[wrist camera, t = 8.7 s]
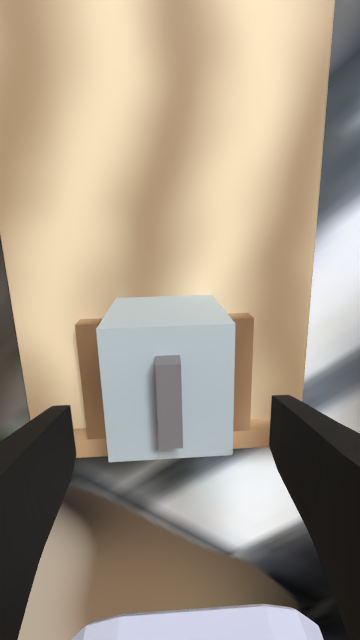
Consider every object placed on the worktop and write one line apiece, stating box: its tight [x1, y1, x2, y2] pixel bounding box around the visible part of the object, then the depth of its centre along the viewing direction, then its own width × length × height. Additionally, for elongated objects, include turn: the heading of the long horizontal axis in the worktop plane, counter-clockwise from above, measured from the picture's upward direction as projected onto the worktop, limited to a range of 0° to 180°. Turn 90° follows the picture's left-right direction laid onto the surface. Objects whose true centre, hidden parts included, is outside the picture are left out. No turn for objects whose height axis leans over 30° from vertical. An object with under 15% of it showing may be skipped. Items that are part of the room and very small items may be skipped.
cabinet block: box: [96, 295, 235, 462], centre depth 13 cm, size 4×5×6 cm
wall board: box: [0, 0, 335, 458], centre depth 15 cm, size 14×20×2 cm
